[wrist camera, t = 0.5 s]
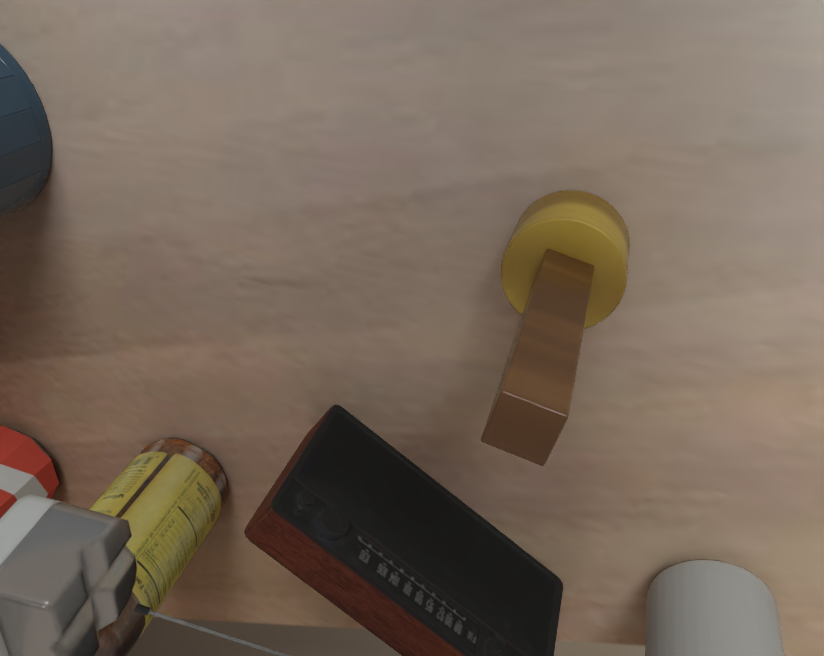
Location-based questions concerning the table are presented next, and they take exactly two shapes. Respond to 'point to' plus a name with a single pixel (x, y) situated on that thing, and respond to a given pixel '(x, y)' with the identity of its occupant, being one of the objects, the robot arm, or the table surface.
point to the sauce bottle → (160, 526)
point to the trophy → (554, 313)
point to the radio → (399, 551)
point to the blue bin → (21, 138)
